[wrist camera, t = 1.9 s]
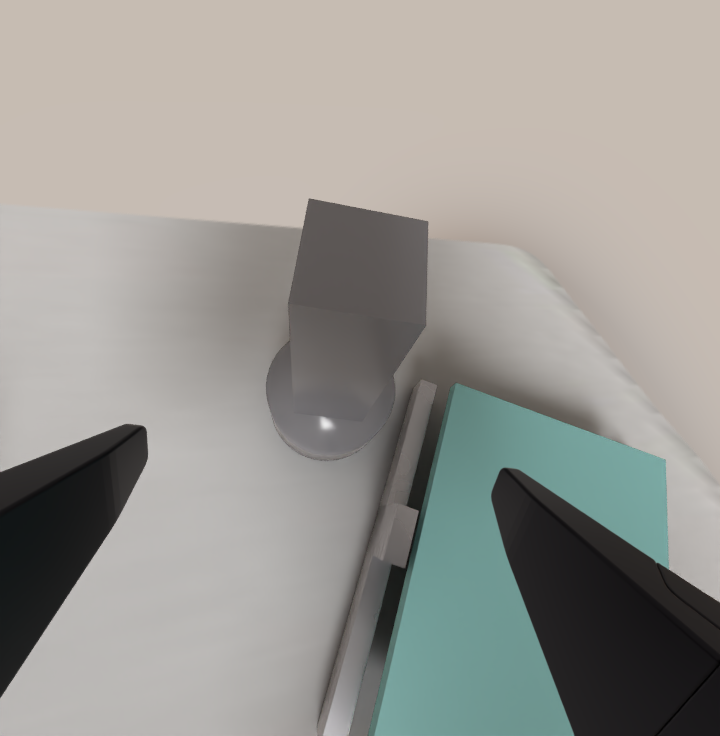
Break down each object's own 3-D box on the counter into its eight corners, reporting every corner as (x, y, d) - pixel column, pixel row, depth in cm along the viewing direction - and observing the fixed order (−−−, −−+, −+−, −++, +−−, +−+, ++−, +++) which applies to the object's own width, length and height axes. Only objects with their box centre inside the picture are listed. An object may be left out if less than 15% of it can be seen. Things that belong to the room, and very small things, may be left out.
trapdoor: (631, 843, 15) (678, 889, 13) (356, 747, 15) (363, 780, 13) (633, 464, 21) (665, 459, 20) (442, 394, 21) (456, 382, 19)
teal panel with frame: (625, 834, 16) (721, 928, 13) (316, 726, 16) (322, 789, 12) (629, 468, 23) (692, 459, 20) (412, 389, 23) (434, 364, 19)
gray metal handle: (377, 466, 21) (490, 395, 9) (260, 453, 20) (201, 354, 8) (384, 362, 24) (479, 191, 11) (281, 347, 23) (261, 146, 10)
